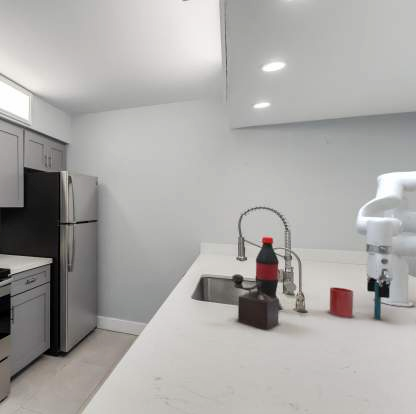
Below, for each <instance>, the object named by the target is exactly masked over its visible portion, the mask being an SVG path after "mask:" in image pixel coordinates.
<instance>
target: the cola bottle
mask: <svg viewBox="0 0 416 414" xmlns="http://www.w3.org/2000/svg"><path fill="white" fill-rule="evenodd" d="M273 239H274V238H273V237H270V236H263V237H262V239H261V243H262V246H261V248H260V250H259V252H258V253H257V256H256V259H255V285H256V284H257V281H258V280H257V279H258V278H261V285H260V291H261V292H262V293H264V294H266V295H267V296H269V297H274V298H278V297H277V290H278V289H277V288H278V286H279V263H280V261H279V259H278V256H277V254H276V252H275V249H274V247H273V244H274V240H273ZM257 289H258V287H257V288H256V290H257Z"/></svg>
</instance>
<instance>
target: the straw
mask: <svg viewBox="0 0 416 414" xmlns="http://www.w3.org/2000/svg"><path fill="white" fill-rule="evenodd" d="M377 282H378V281H377ZM377 282H375V292H374V308H373V309H374V310H373V312H374V314H373V318H374V320H381V319H382V318H381V315H382V314H381V312H382V311H381V309H382V303H381V297H378V286H379V282H378V283H377Z"/></svg>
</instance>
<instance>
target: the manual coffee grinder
mask: <svg viewBox="0 0 416 414" xmlns="http://www.w3.org/2000/svg"><path fill="white" fill-rule="evenodd" d="M257 280H258V281H257V284H256V283H255V285H254V286H251V287H244V285H243V282H244V276H243V275H242V274H237V273H236V274H233V275H232V276H231V281H232V282H233V283H234V288H235V289H239V290H243V291H248V292H245V293H244V294H242V295H238V304H237V305H238V306H237V307H238V308H237V311H238V312H237V322H238V323H241V324H244V325H246V326H250V327H253V328H256V329H259V330H264V331H268V330H271V329H273V328H274V327H276V326H278V325H279V311H280V309H279V307H280V306H279V305H280V302H279V301H280V299H279V298H278V297H277V298H274V297H269V296H267V295H266V294H264V293H262V292H261V291H260V285H261V278H258V279H257ZM257 287H258V289H257ZM255 289H256V290H255ZM253 290H254V291H253Z"/></svg>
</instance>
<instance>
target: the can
mask: <svg viewBox="0 0 416 414" xmlns="http://www.w3.org/2000/svg"><path fill="white" fill-rule="evenodd" d="M329 314H330V315H333V316H335V317H339V318H348V319H349V318H350V319H351V318H353V316H354V290H352V289H349V288H344V287H330V288H329Z"/></svg>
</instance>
